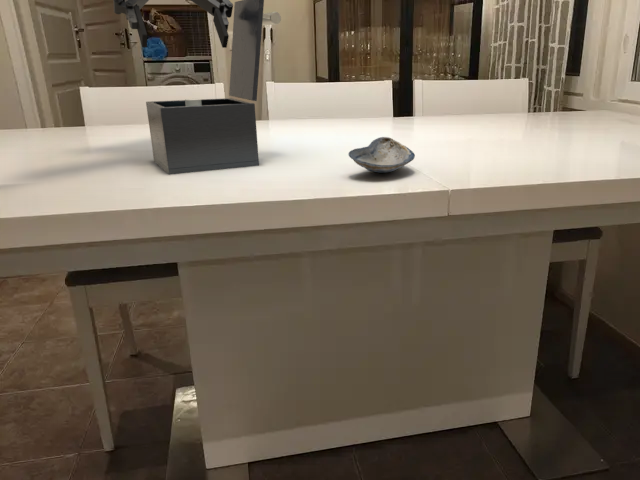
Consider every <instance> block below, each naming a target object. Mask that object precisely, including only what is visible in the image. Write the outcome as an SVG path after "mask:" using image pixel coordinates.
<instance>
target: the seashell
mask: <svg viewBox="0 0 640 480" xmlns="http://www.w3.org/2000/svg"><path fill="white" fill-rule="evenodd" d="M348 157H349V158H350V159H351V160H352V161H353V162H354V163H355V164H356V165H358V166H360V167H361V168H364V169H365V170H367V171H369V172H373V173H379V174H385V173H390V172H394V171H397V170H399V169H401V168H402V167H404V166H406V165H408V164H410V163H411V162H412V161H414V159H415V157H416V155H415V152H414V151H412V150H411V148H409V147H407V146H406V145H404V144H402V143H401V142H399V141H397V140H395V139H393V138H391V137H388V136H381V137H377V138H374V140H372V141H370V143H369V144H368V145H367V146H363V147H358V148H354V149H351V150H350V151H349V152H348Z"/></svg>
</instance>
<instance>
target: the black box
mask: <svg viewBox="0 0 640 480" xmlns="http://www.w3.org/2000/svg"><path fill="white" fill-rule="evenodd" d="M200 99H201V103H202V106H186V105H185V99H179V100H177V99H176V100H154V101H153V100H152V101H145V106H146V113H147V120H148V121H147V122H148V127H149V135H150V141H151V148H152V155H153V162H154V163H155V164H156V165H157V166H159V167H160V168H161V169H162V170H163V171H165V173H166V174H168V175H170V176H171V175H180V174H189V173H190V174H191V173H199V172H209V171H210V172H211V171H219V170H220V171H221V170H229V169H239V168H240V169H241V168H250V167H259V166H260V157H259V147H258V145H259V143H258V131H257V118H256V105H255V103H253V102H250V101H245V100H241V99H235V98H232V97H229V98H228V97H226V98H224V97H223V98H204V99H203V98H200Z"/></svg>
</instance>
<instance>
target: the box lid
mask: <svg viewBox="0 0 640 480" xmlns="http://www.w3.org/2000/svg"><path fill="white" fill-rule="evenodd" d="M264 6H265V0H238V1H234V4H233V24H232V25H233V26H232V41H231V42H232V43H231V57H230V58H231V59H230V76H229V90H228V91H229V93H228V95H229V96H230V97H234V98H239V99H243V100H248V101H253V102H258V87H259V86H258V85H259V75H260V59H261V47H262V33H263V26H271V25H273V26H274V25H279V24H280V23H281V21H282V16H281V13H279V12H277V11H272V12H266V13H264Z"/></svg>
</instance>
